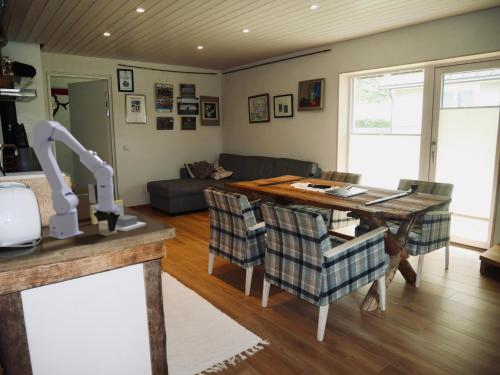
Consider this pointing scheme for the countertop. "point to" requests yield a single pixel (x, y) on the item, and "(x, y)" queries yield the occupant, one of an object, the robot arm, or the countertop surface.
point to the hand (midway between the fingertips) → (107, 230)
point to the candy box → (117, 203)
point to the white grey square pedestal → (128, 223)
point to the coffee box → (93, 195)
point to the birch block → (105, 228)
